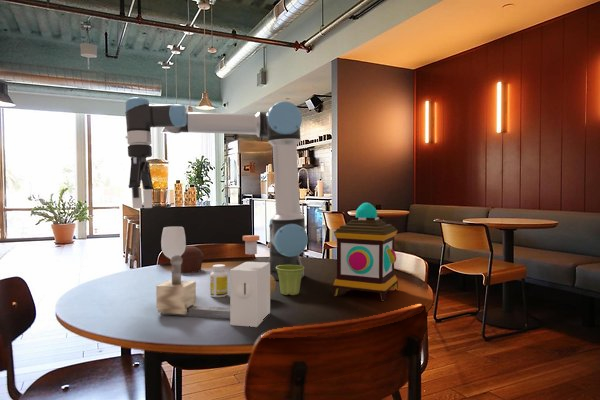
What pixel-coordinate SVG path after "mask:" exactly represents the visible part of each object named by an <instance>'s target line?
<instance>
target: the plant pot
mask: <svg viewBox="0 0 600 400" xmlns="http://www.w3.org/2000/svg"><path fill="white" fill-rule="evenodd" d="M276 269H277V273H278V276H279V280H278V282H279V289H280V290H279V291H280V295H284V296H288V295H290V296H296V295H299V293H300V289H301V284H302V283H301V282H302V278H301V276H302V273H303V270H305V266H304V265H302V266H300V265H279V266H276Z"/></svg>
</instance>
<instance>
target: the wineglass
mask: <svg viewBox="0 0 600 400" xmlns="http://www.w3.org/2000/svg"><path fill="white" fill-rule="evenodd" d="M186 240H187V238H186V233H185V228H184V227H183V226H165V227H163V229H162V233H161V240H160V245H161V251H162V253H163V255H164V256H165V257H166V258H167V259H169V260H170V259H171V257H172V256H174V255H179V256H181V255H182V254H183V253H184V251H185V248H186V247H187V243H186V242H187V241H186Z"/></svg>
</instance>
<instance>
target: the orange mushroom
mask: <svg viewBox="0 0 600 400" xmlns="http://www.w3.org/2000/svg"><path fill="white" fill-rule="evenodd" d="M242 241H244V242H245V243H244V245H245V247H244V249H245V250H244V251H245V253H244V254H245V255H257V253H258V250H257V249H258V241H260V235H258V234H257V235H254V234H252V235H251V234H250V235H249V234H248V235H246V234H245V235H242Z"/></svg>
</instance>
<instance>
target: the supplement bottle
mask: <svg viewBox="0 0 600 400" xmlns="http://www.w3.org/2000/svg"><path fill="white" fill-rule="evenodd" d="M209 276H210V279H209V280H210V282H209V283H210V285H209V286H210V287H209V289H210V291H209V292H210V297H211V298H224V297H227V296H228V272H226V265H225V264H221V263H220V264H219V263H218V264H213V265H212V272H210V275H209Z"/></svg>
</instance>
